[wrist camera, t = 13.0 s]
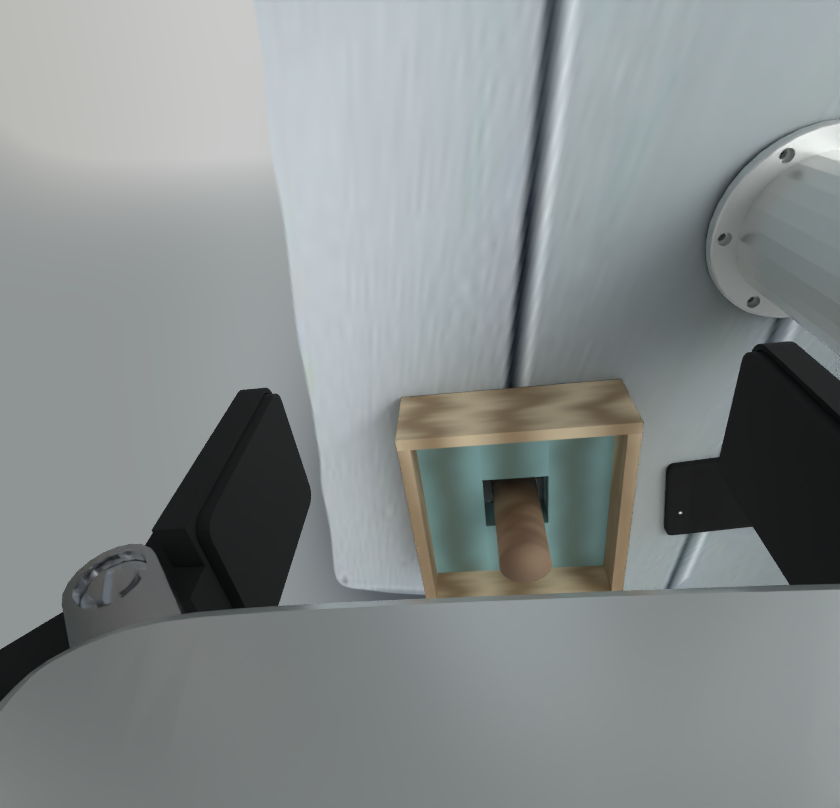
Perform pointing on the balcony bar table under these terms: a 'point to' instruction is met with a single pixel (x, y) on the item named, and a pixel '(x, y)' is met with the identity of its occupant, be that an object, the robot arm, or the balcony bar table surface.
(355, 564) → the balcony bar table surface
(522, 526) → the peg
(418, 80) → the balcony bar table surface
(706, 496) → the cell phone
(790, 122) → the balcony bar table surface
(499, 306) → the balcony bar table surface
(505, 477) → the box
